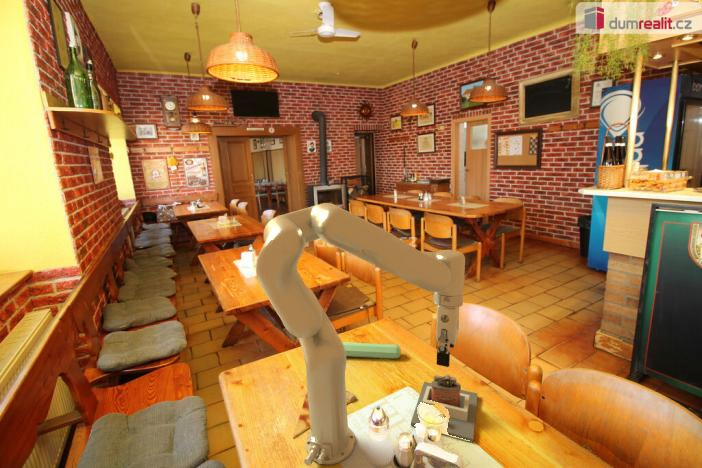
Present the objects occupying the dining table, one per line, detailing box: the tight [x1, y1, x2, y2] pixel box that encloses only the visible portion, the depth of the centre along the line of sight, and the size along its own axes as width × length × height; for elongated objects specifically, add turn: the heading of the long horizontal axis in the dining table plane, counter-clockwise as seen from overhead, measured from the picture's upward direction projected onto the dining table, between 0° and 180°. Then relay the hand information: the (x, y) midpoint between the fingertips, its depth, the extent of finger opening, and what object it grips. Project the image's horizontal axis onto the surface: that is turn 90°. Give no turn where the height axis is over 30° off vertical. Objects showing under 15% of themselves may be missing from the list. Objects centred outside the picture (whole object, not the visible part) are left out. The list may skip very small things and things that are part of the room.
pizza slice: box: [292, 390, 357, 439], centre depth 104 cm, size 16×22×2 cm
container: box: [342, 341, 402, 360], centre depth 126 cm, size 6×6×25 cm
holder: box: [410, 381, 478, 442], centre depth 98 cm, size 18×16×4 cm
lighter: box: [430, 374, 462, 408], centre depth 97 cm, size 8×3×10 cm, turn 80°
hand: (445, 355), depth 94 cm, fingers open, 9 cm apart
